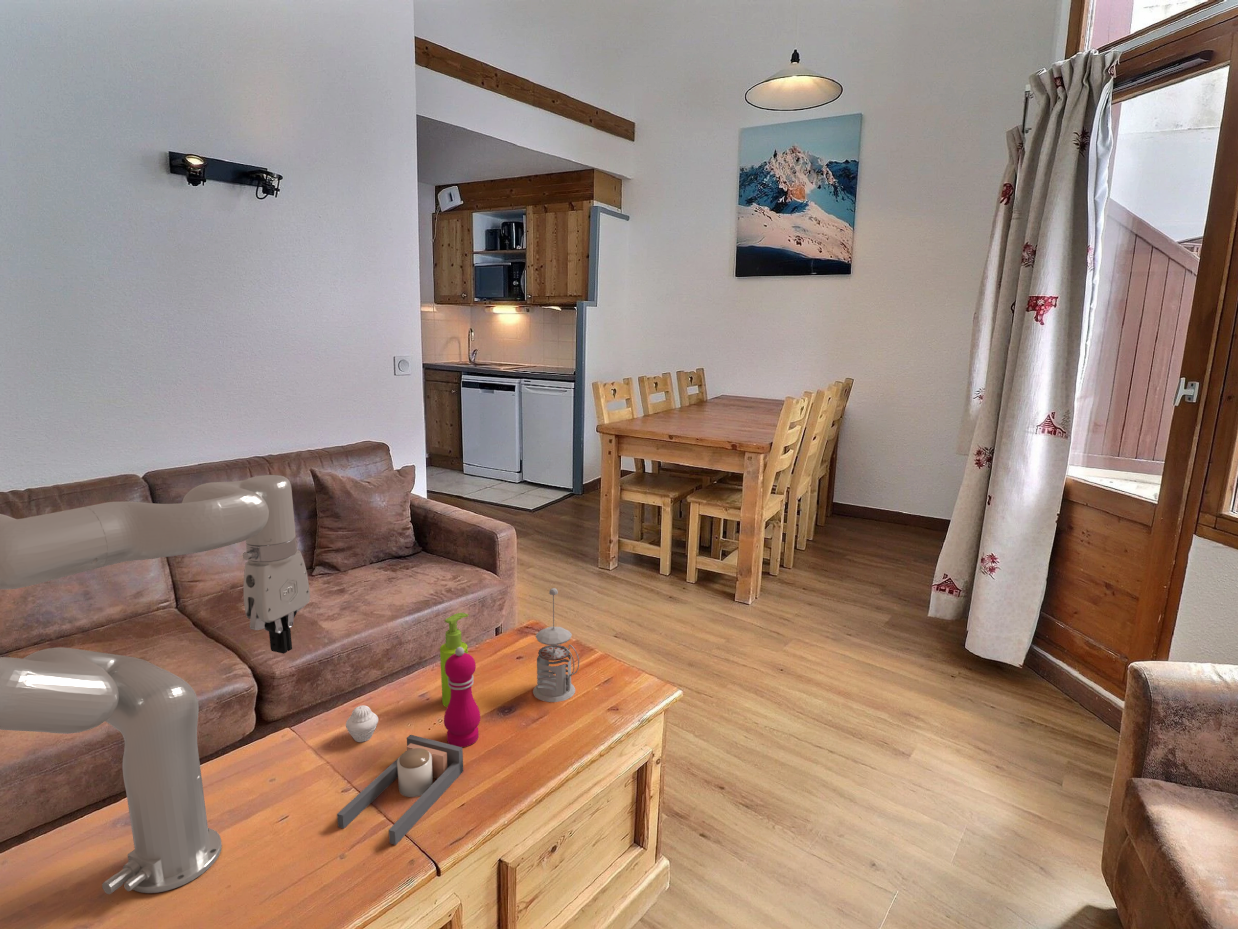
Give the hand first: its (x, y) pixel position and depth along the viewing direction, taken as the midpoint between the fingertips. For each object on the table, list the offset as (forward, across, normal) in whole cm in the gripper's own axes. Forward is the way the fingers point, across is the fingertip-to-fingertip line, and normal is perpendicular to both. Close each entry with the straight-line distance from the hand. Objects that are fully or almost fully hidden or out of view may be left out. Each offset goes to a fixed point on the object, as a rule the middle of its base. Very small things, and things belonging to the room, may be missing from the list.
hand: (281, 650), depth 119 cm
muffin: (+27, +17, -1) cm, 32 cm away
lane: (+27, +5, -20) cm, 34 cm away
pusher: (+27, +12, -20) cm, 36 cm away
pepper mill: (+27, +24, -20) cm, 41 cm away
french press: (+27, +47, -30) cm, 62 cm away
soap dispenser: (+27, +36, -11) cm, 47 cm away
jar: (+27, +8, -20) cm, 35 cm away
